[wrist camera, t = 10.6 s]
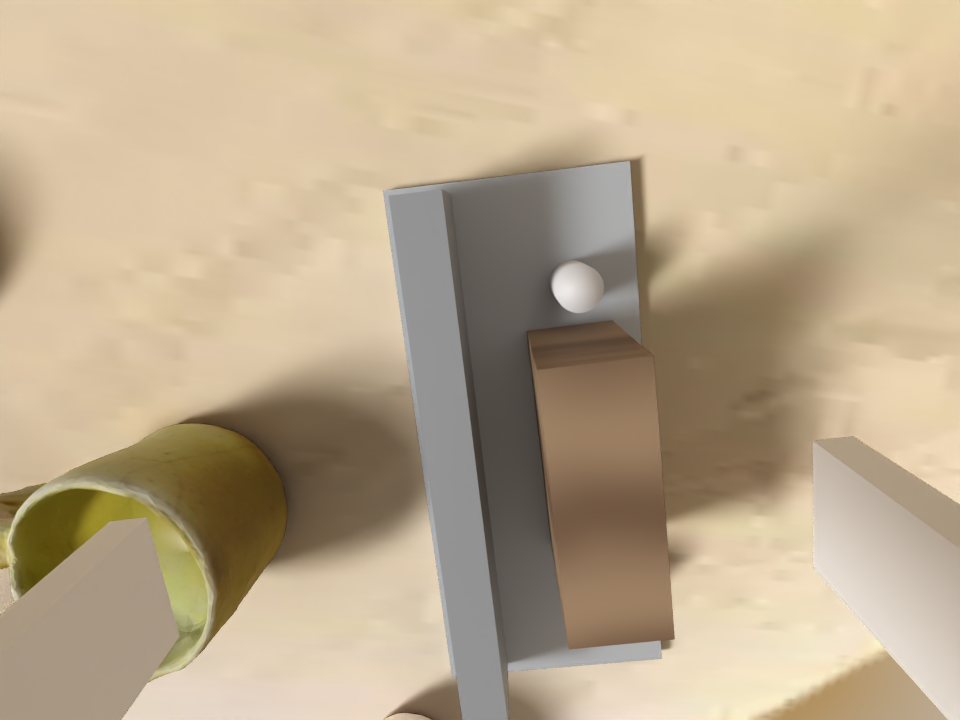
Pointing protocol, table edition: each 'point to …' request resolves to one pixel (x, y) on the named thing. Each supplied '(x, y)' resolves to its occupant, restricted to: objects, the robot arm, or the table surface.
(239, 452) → the mug
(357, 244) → the table surface
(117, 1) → the table surface
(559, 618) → the ledge
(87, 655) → the robot arm
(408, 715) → the plain white apple
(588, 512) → the picture block
